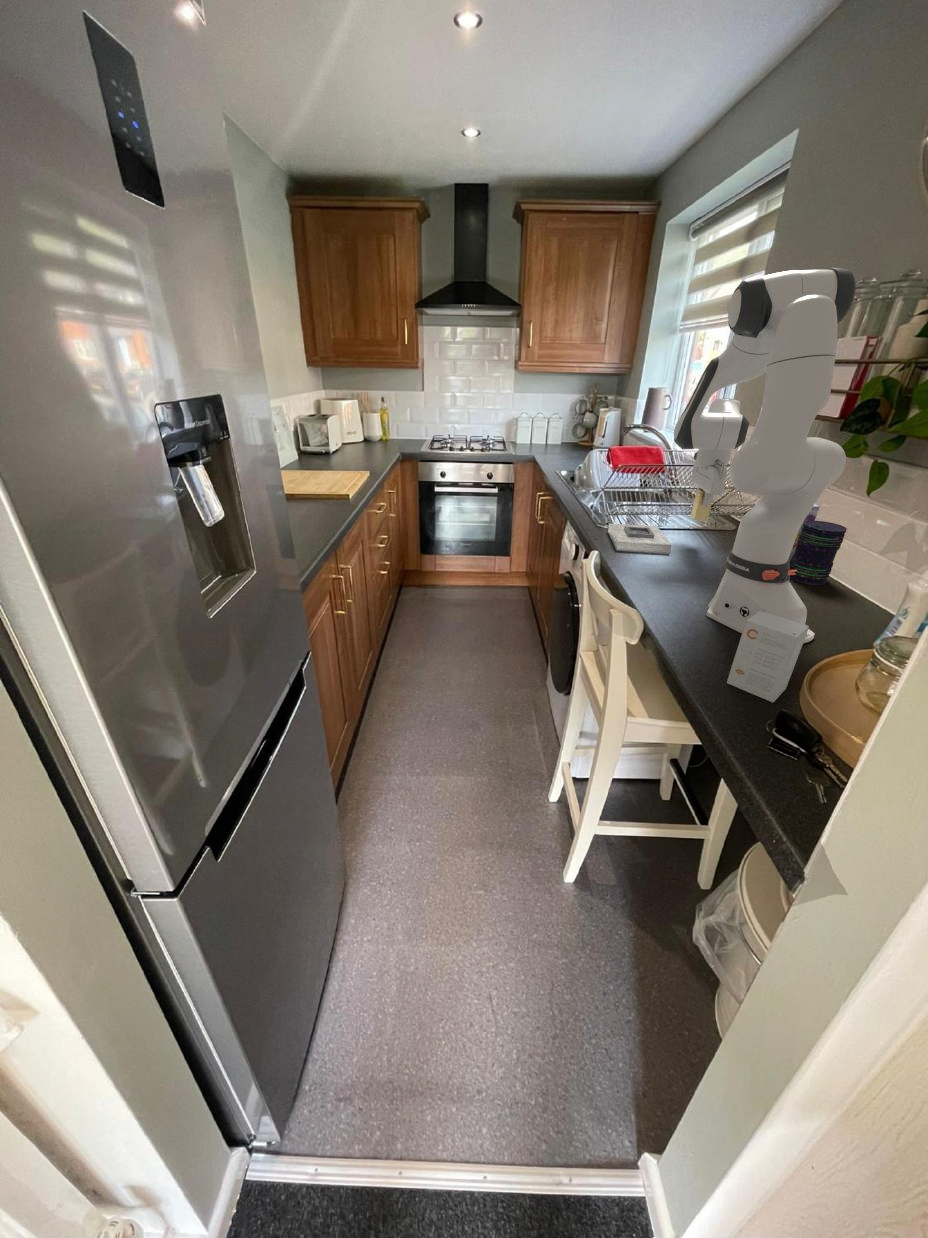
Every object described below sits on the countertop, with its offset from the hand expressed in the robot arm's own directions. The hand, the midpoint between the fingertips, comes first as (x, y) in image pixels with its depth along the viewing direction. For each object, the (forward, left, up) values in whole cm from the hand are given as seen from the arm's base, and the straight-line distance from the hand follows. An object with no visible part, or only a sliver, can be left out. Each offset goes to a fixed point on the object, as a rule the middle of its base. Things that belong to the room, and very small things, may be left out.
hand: (702, 503), depth 154 cm
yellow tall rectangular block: (0, 0, -5) cm, 5 cm away
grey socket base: (+7, +16, -14) cm, 22 cm away
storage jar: (-30, -14, -14) cm, 36 cm away
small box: (-71, +41, -14) cm, 84 cm away
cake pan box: (-17, -13, -14) cm, 26 cm away
